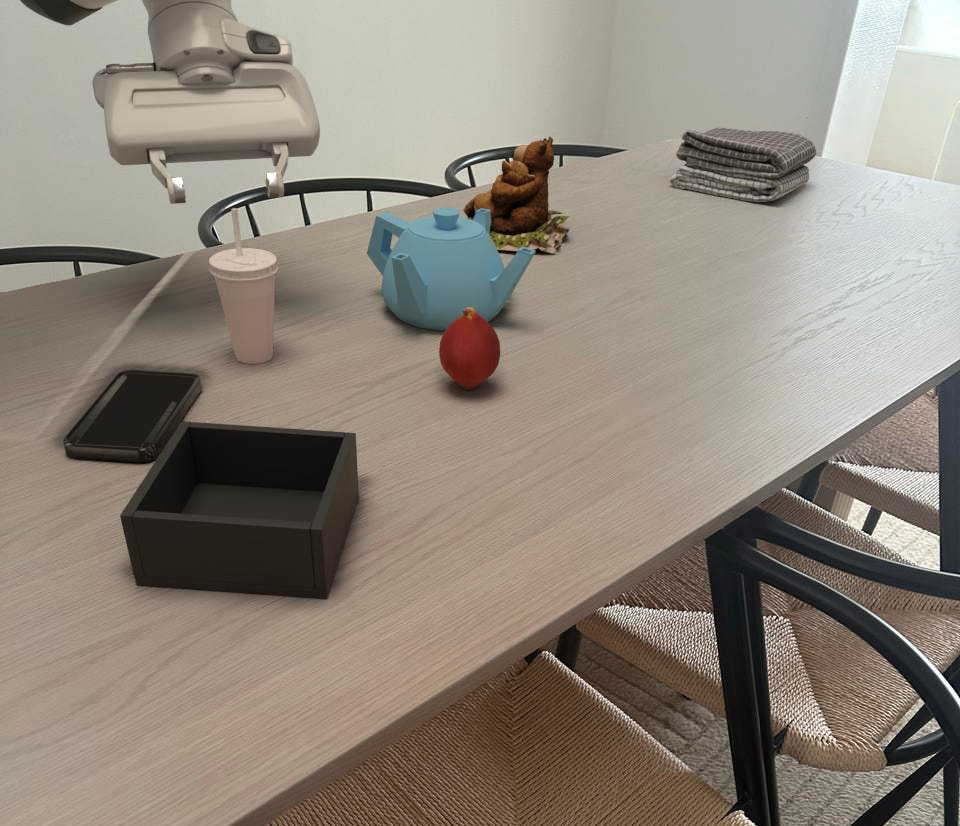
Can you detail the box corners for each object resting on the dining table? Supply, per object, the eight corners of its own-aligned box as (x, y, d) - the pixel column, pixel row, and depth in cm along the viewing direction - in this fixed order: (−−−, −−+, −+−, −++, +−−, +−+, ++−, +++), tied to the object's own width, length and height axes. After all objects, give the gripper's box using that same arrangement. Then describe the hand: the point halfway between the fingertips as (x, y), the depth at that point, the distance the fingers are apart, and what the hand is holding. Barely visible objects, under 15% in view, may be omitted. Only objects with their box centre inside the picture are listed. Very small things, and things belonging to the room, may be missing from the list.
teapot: (491, 281, 118) (495, 185, 111) (532, 330, 107) (540, 227, 100) (365, 291, 114) (361, 192, 107) (395, 342, 103) (393, 236, 96)
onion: (451, 370, 98) (453, 291, 93) (506, 381, 97) (510, 300, 92) (430, 394, 94) (430, 312, 89) (487, 405, 93) (490, 323, 88)
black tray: (135, 585, 69) (119, 515, 66) (192, 485, 80) (181, 420, 76) (327, 599, 69) (321, 529, 65) (359, 497, 80) (355, 432, 76)
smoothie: (266, 338, 103) (250, 196, 94) (298, 359, 99) (286, 214, 90) (210, 353, 100) (188, 207, 91) (241, 375, 96) (222, 226, 87)
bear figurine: (474, 214, 138) (477, 118, 130) (578, 229, 134) (588, 131, 126) (439, 244, 128) (440, 141, 120) (551, 261, 124) (559, 156, 116)
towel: (778, 208, 145) (791, 151, 140) (663, 186, 152) (672, 130, 147) (810, 186, 155) (823, 131, 150) (701, 165, 162) (710, 112, 157)
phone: (58, 445, 82) (122, 368, 93) (61, 457, 82) (124, 379, 94) (151, 451, 81) (204, 373, 93) (154, 463, 82) (206, 384, 94)
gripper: (84, 42, 90) (112, 185, 90) (305, 38, 96) (334, 173, 95) (92, 87, 97) (119, 221, 96) (300, 81, 102) (326, 208, 101)
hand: (228, 197), depth 96 cm, fingers open, 8 cm apart
